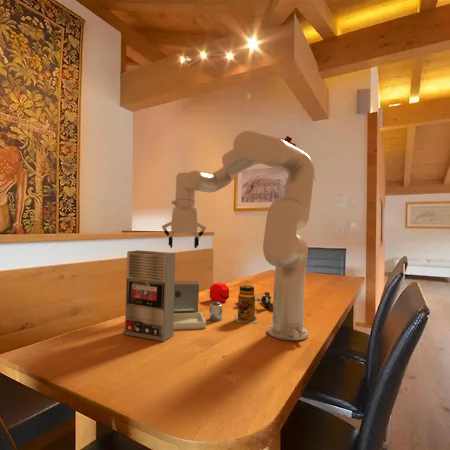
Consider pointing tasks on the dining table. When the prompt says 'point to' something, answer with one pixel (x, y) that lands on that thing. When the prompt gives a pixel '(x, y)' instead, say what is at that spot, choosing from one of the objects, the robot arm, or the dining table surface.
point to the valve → (264, 299)
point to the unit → (186, 296)
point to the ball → (219, 292)
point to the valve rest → (269, 304)
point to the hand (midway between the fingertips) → (183, 247)
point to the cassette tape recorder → (150, 294)
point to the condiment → (246, 305)
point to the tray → (188, 321)
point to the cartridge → (215, 311)
